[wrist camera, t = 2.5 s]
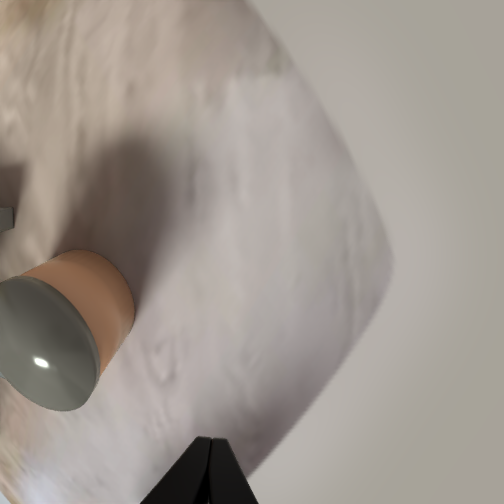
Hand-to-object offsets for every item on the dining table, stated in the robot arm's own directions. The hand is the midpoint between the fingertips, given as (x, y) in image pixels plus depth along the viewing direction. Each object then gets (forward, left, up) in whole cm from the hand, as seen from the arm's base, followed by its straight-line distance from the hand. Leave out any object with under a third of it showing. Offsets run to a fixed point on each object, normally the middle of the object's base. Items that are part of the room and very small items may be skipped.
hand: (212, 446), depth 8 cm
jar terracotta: (0, +8, -9) cm, 12 cm away
